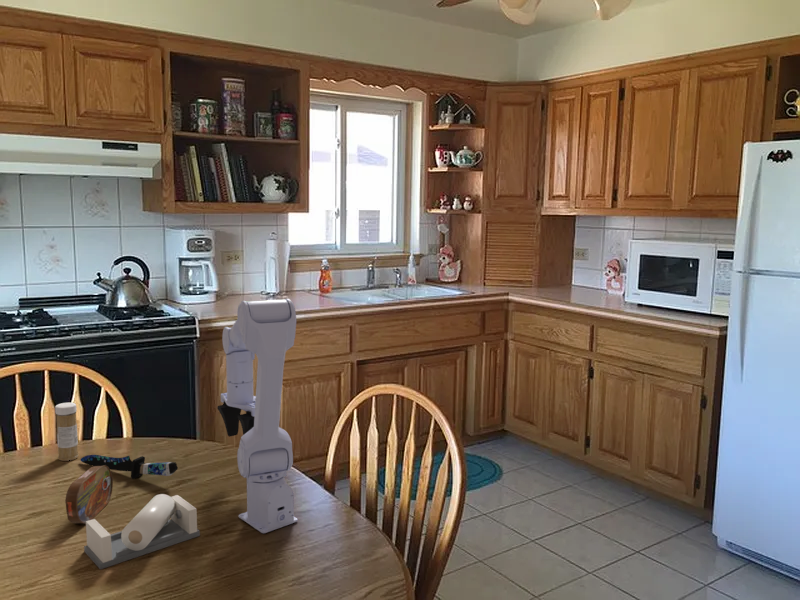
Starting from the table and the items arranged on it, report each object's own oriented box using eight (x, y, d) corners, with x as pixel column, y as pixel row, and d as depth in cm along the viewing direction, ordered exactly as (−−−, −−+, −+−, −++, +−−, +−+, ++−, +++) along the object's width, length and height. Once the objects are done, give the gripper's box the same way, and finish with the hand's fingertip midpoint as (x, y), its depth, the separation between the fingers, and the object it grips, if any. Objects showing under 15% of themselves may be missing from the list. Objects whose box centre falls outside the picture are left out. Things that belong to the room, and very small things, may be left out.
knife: (180, 480, 148) (178, 460, 148) (170, 485, 146) (168, 464, 145) (91, 467, 163) (89, 449, 163) (80, 471, 161) (78, 452, 160)
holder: (199, 535, 126) (199, 507, 125) (100, 569, 114) (98, 538, 113) (181, 520, 132) (180, 494, 131) (84, 551, 120) (82, 522, 119)
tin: (80, 531, 127) (77, 489, 126) (63, 531, 127) (61, 488, 126) (115, 497, 142) (113, 459, 141) (100, 497, 142) (98, 458, 141)
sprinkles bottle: (65, 454, 166) (62, 401, 164) (82, 455, 166) (80, 402, 164) (54, 461, 162) (50, 406, 160) (72, 462, 161) (69, 407, 159)
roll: (168, 523, 129) (180, 502, 128) (141, 556, 117) (154, 533, 116) (145, 510, 129) (157, 489, 128) (115, 541, 117) (129, 518, 116)
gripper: (273, 384, 146) (274, 444, 148) (239, 371, 157) (240, 427, 159) (244, 389, 142) (245, 451, 143) (211, 376, 152) (213, 434, 154)
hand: (241, 439), depth 151 cm, fingers open, 7 cm apart
